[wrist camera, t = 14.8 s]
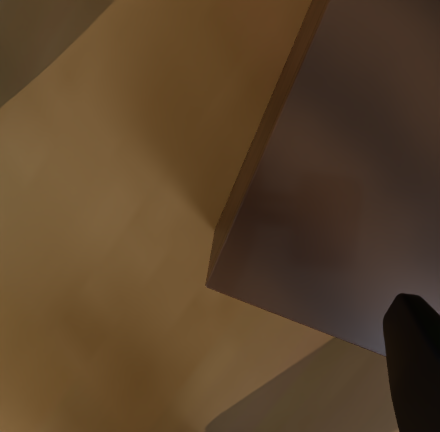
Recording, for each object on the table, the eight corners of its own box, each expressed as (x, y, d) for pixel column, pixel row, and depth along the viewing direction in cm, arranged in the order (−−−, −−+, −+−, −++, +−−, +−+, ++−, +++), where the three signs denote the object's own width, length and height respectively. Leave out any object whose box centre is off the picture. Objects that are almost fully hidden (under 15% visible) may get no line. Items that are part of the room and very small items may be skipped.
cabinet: (331, -46, 17) (386, -132, 11) (564, 61, 18) (741, 39, 11) (214, 231, 20) (204, 287, 14) (411, 310, 21) (484, 395, 15)
